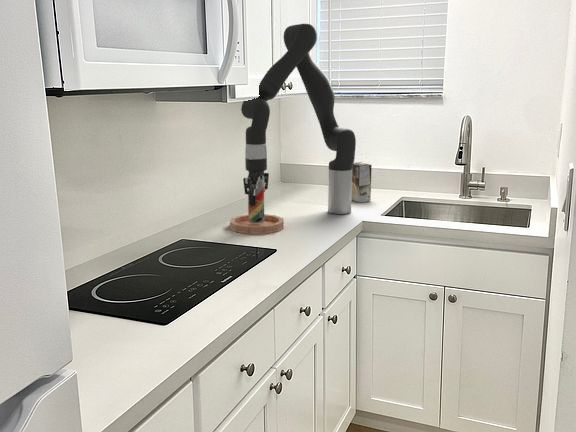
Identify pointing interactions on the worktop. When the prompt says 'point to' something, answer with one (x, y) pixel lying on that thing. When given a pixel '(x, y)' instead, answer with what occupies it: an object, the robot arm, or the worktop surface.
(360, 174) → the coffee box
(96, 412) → the worktop surface
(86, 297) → the worktop surface
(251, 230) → the round tray
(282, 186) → the worktop surface
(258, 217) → the lotion bottle
